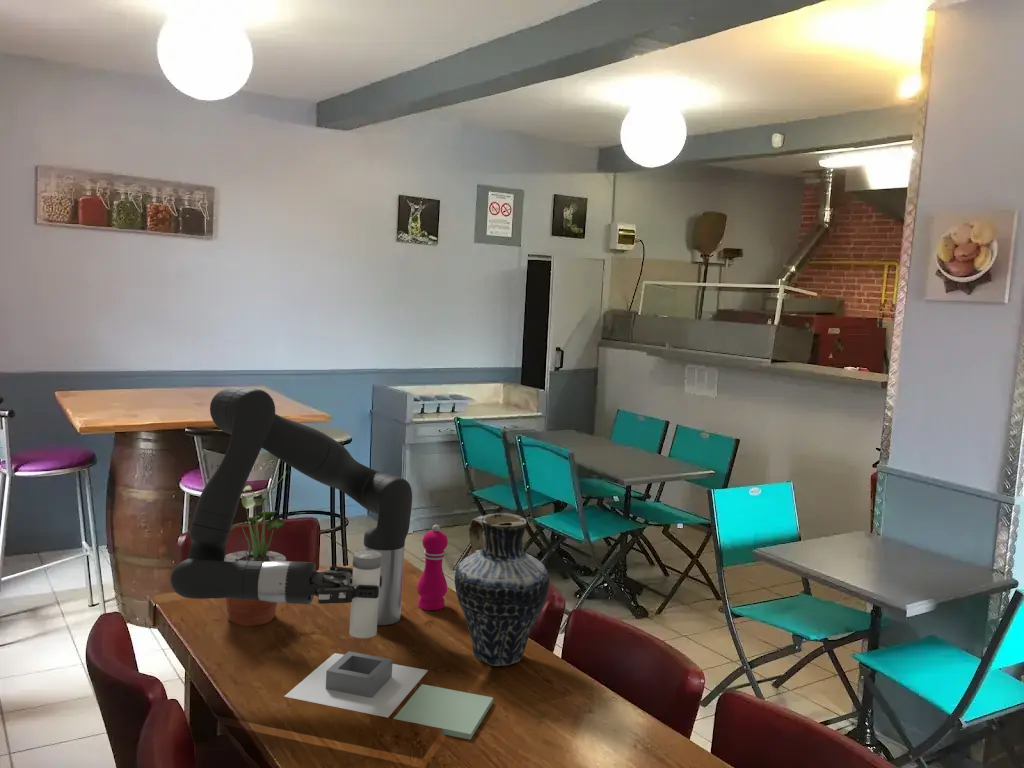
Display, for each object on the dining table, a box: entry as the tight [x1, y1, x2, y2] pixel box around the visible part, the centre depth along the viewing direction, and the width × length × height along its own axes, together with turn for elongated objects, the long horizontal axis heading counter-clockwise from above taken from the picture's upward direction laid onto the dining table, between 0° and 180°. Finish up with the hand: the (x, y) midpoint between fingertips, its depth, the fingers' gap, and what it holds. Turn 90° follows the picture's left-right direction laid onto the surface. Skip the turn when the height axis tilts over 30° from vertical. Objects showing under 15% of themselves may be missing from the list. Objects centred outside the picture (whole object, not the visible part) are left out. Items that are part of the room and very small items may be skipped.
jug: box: [454, 512, 550, 667], centre depth 173 cm, size 21×19×30 cm
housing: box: [283, 650, 429, 718], centre depth 157 cm, size 20×20×4 cm
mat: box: [393, 683, 494, 740], centre depth 150 cm, size 14×14×1 cm
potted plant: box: [224, 471, 288, 627], centre depth 186 cm, size 16×15×35 cm
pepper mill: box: [416, 524, 449, 611], centre depth 200 cm, size 7×7×20 cm
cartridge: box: [349, 549, 382, 639], centre depth 155 cm, size 5×5×15 cm
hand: (379, 586), depth 155 cm, fingers closed on cartridge, 5 cm apart
